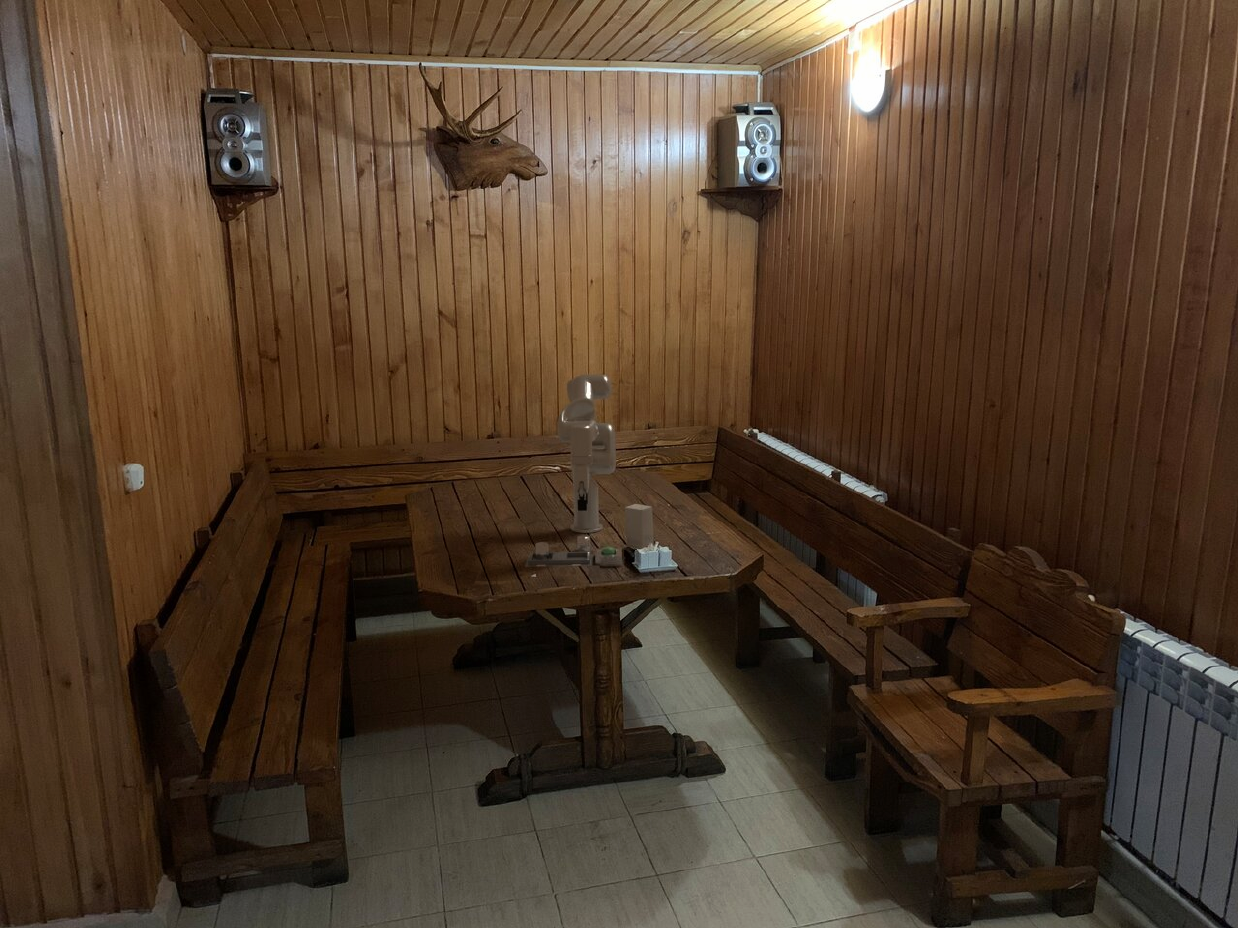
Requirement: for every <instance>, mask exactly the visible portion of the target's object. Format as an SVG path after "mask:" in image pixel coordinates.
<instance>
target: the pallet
mask: <svg viewBox="0 0 1238 928" xmlns="http://www.w3.org/2000/svg"><path fill="white" fill-rule="evenodd" d="M593 562H594V553H591V551H589V552H579V551H552V552H550V551H549V559H543V560H536V552H530V554H528V555H527V558H526V562H525V565H524V567H525V568H534V567H536V568H537V567H538V568H540V567H542V568H543V567H546V568H548V567H550V568H551V567H592V566H594V565H593V564H594V563H593Z"/></svg>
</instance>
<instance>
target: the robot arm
mask: <svg viewBox="0 0 1238 928" xmlns="http://www.w3.org/2000/svg"><path fill="white" fill-rule="evenodd" d="M612 388H613V387H612V382H611V378H610V377H609V375H607V374H579V375H577V376H576V377H574V378H571V379H569V380H568V381H567V383H566V393H567V397H568V400H569V403H568V404H567V405H565V407H564V408H563V409H562V410H561V411H560V413H559V416H558V420H557V436H558V439H559V440H560V441H561V442H563V443H570V458H569V459H570V460H569V461H570V467H571V473H572V474H571V475H572V484H573V485H572V486H573V487H572V488H573V513H574V514H573V516H574V518H573V519H574V520H573V521H574V522H573V524H571V525H570V530H571V531H572V532H574V533H580V534H581V533H583V534H589V533H591V534H592V533H596V532H600V531H602V530H603V529H604V528H603V524H602V523H600V522H599V521H600V519H599V518H600V517H599V516H600V515H599V513H600V512H599V485H598V482H597V480H596V479H595V477H593V475H609V474H613V473H614V472H615V471H616V467H617V465H616V464H617V455H616V453H617V451H616V432H615V428H614V426H613V424H611V423H608V422H597V420H596V419H597V415H596V414H597V412H596V411H595V400H608V399H609V398H610V397H611V395H612ZM595 448H596V449H595ZM597 448H599V449H597ZM600 448H601V449H600Z"/></svg>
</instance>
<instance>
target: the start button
mask: <svg viewBox="0 0 1238 928" xmlns="http://www.w3.org/2000/svg"><path fill="white" fill-rule="evenodd" d="M602 549H603V555H615V551H614V549H615V547H614V546H604V547H602Z"/></svg>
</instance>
